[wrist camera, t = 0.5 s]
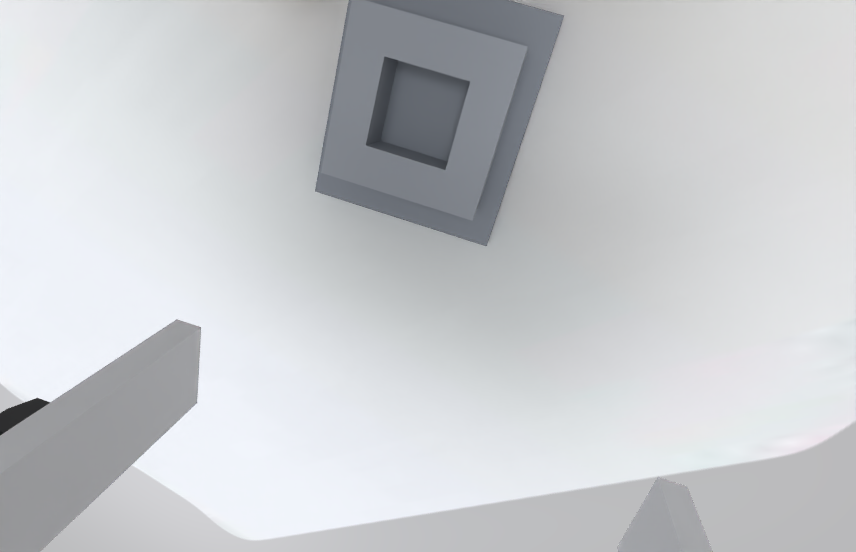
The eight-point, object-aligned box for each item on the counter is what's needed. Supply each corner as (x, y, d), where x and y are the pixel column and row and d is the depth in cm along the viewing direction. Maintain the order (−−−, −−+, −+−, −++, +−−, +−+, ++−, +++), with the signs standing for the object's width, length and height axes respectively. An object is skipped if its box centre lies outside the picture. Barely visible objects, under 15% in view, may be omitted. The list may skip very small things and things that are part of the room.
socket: (362, -38, 33) (337, -58, 28) (562, 18, 32) (568, 6, 27) (321, 188, 39) (295, 200, 35) (487, 241, 38) (482, 260, 34)
